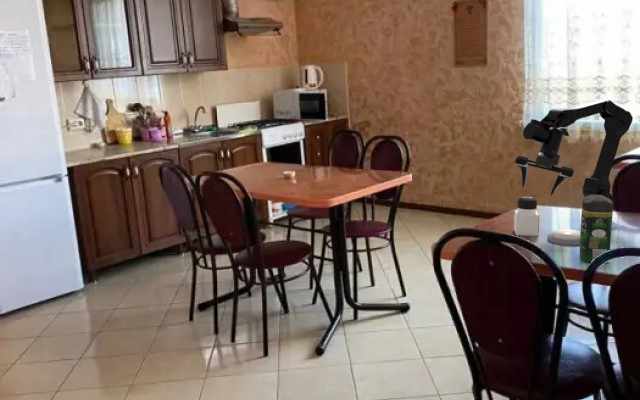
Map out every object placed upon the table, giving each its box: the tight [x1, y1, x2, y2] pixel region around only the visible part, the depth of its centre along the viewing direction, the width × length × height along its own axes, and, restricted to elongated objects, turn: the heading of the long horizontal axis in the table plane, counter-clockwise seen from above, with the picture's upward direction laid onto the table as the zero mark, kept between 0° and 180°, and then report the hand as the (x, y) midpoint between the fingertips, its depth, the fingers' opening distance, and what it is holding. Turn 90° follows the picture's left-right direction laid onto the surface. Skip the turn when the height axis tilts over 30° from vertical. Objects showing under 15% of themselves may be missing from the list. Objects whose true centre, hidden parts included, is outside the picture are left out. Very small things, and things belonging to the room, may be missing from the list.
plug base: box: [546, 228, 581, 247], centre depth 198 cm, size 12×12×2 cm
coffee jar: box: [579, 195, 614, 263], centre depth 177 cm, size 10×8×19 cm
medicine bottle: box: [513, 196, 540, 237], centre depth 207 cm, size 7×7×12 cm
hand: (537, 191), depth 209 cm, fingers open, 9 cm apart
